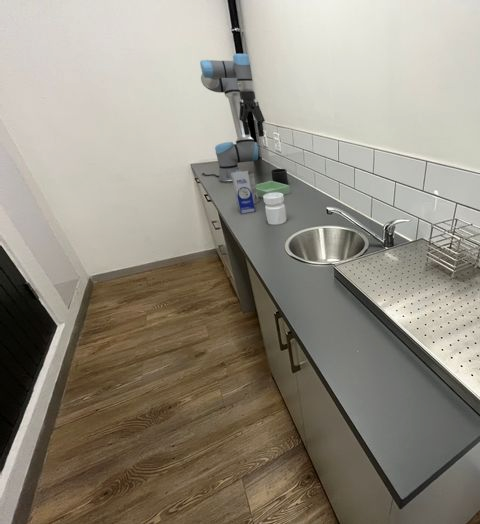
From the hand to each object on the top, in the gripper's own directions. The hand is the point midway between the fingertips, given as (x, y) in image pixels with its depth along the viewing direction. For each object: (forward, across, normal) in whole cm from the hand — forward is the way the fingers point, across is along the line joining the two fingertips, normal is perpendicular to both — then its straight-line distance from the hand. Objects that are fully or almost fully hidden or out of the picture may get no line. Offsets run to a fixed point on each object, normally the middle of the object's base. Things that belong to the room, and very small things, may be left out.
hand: (254, 135), depth 161 cm
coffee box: (+31, +12, -18) cm, 38 cm away
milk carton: (+31, +23, -26) cm, 46 cm away
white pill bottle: (+31, +46, -25) cm, 61 cm away
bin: (+31, +8, -1) cm, 32 cm away
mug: (+31, -3, +15) cm, 34 cm away
